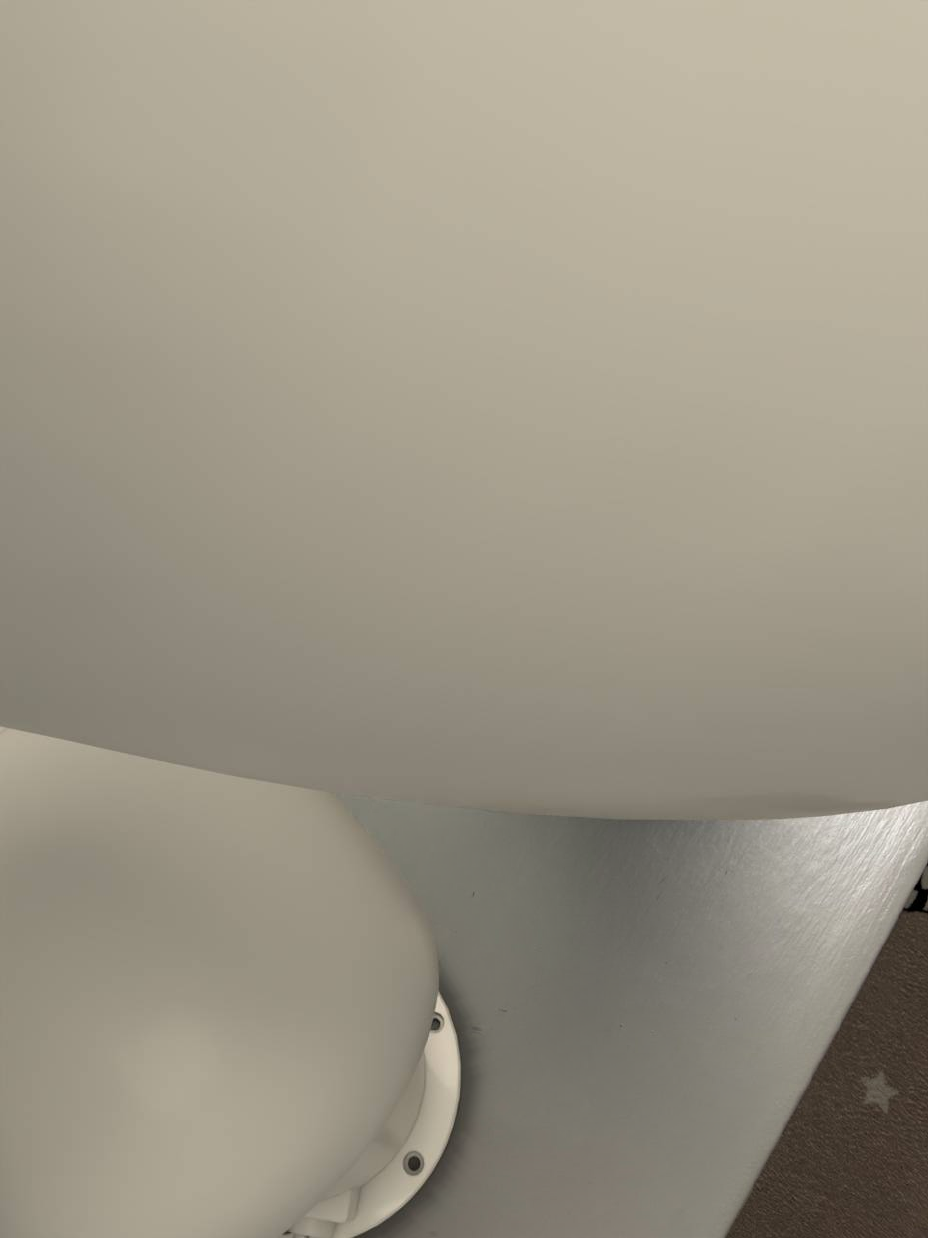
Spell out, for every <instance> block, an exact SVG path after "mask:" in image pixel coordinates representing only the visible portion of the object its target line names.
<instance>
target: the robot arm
mask: <svg viewBox="0 0 928 1238" xmlns="http://www.w3.org/2000/svg"><path fill="white" fill-rule="evenodd" d="M336 794H338V795H345V796H351V797H361V798H370V799H377V800H383V801H384V800H385V801H392V802H401V803H409V804H416V805H425V806H431V807H438V808H439V807H443V808H454V809H468V810H477V811H484V812H486V811H487V812H494V813H507V814H522V815H523V814H524V815H541V816H556V817H557V816H558V817H572V818H573V817H574V818H588V819H589V818H591V819H605V820H609V819H610V820H628V821H630V820H635V821H638V820H639V821H640V820H641V821H661V820H662V821H771V820H773V821H774V820H791V819H806V818H819V817H820V818H821V817H829V816H837V815H846V814H847V815H848V814H854V813H855V814H856V813H862V812H863V813H864V812H871V811H879V810H888V809H892V808H898V807H904V806H907V805H913V804H917V803H922V802H927V801H928V0H0V1238H355V1237H357V1236H359V1235H362V1234H364V1233H366V1232H368V1231H370V1230H371V1229H373V1228H375V1227H378V1226H379V1225H381V1224H382V1223H383V1222H385V1221H387V1220H388V1219H390V1218H391V1217H393V1216H394V1215H395V1214H397V1212H398V1211H399V1210H401V1209H402V1208H403V1207H404V1206H406V1205H407V1203H408V1202H409V1201H411V1199H413V1197H415V1196H416V1194H417V1193H418V1192H419V1190H420V1189H421V1188H422V1187H423V1185H424V1184H425V1183H426V1182H427V1180H428V1179H429V1177H430V1176H431V1175H432V1173H433V1172H434V1171H435V1169H436V1166H437V1164H438V1163H439V1161H440V1159H441V1157H442V1155H443V1153H444V1152H445V1149H446V1147H447V1146H448V1143H449V1140H450V1137H451V1134H452V1131H453V1128H454V1125H455V1122H456V1118H457V1114H458V1110H459V1109H458V1108H459V1103H460V1097H461V1086H462V1074H461V1072H462V1071H461V1070H462V1063H461V1062H462V1061H461V1052H460V1046H459V1039H458V1035H457V1032H456V1029H455V1026H454V1022H453V1020H452V1016H451V1013H450V1010H449V1007H448V1005H447V1003H446V1002H445V1000H444V998H443V996H442V994H441V992H440V990H439V988H440V966H439V959H438V951H437V946H436V939H435V936H434V932H433V929H432V926H431V923H430V921H429V919H428V917H427V915H426V913H425V911H424V909H423V907H422V905H421V903H420V902H419V901H420V900H418V898H417V896H416V894H415V892H414V890H412V888H411V886H410V885H409V883H408V882H407V881H406V879H405V878H404V877H403V875H402V874H401V873H400V871H399V870H398V868H397V867H396V866H395V865H394V863H393V862H392V860H391V859H390V858H389V856H388V855H387V854H386V853H385V851H384V850H383V849H382V848H381V846H380V845H379V844H378V843H377V841H376V840H375V839H374V838H373V836H372V835H371V834H370V833H369V831H368V830H367V829H366V827H365V826H364V825H363V824H362V823H361V822H360V821H359V820H358V818H357V817H356V816H355V815H354V814H353V813H352V812H351V810H350V809H349V808H348V807H347V806H346V805H345V804H344V803H343V801H342V799H340V798H339V796H338V795H336ZM434 1020H437V1021H438V1022H439V1023H440V1025H439V1027H438V1029H436V1030H432V1025H433V1021H434ZM415 1157H416V1158H418V1159H419V1163H420V1165H419V1168H418V1169H416V1170H412V1169H411V1168H410V1166H409V1162H410V1160H411V1159H412V1158H415Z"/></svg>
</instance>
